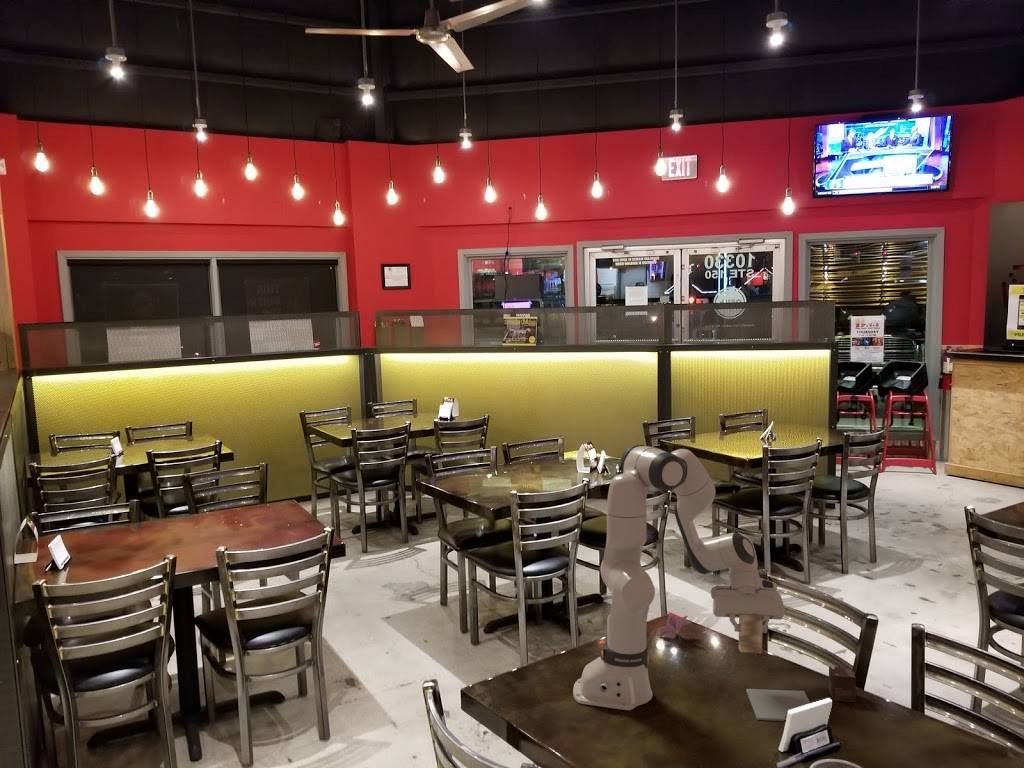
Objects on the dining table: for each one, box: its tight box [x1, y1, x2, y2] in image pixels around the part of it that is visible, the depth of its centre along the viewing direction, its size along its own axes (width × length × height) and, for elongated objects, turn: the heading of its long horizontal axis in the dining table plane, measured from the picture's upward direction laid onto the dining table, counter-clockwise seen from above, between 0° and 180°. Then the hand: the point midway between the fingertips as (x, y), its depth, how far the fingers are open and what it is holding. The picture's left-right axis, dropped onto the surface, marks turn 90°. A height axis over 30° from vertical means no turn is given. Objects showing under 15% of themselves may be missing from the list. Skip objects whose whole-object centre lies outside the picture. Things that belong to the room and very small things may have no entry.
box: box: [828, 666, 857, 703], centre depth 211 cm, size 6×6×7 cm
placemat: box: [745, 688, 811, 722], centre depth 207 cm, size 16×16×1 cm
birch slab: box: [738, 615, 764, 654], centre depth 217 cm, size 6×3×10 cm, turn 83°
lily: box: [657, 615, 692, 644], centre depth 250 cm, size 12×12×10 cm
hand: (750, 631), depth 217 cm, fingers closed on birch slab, 6 cm apart
